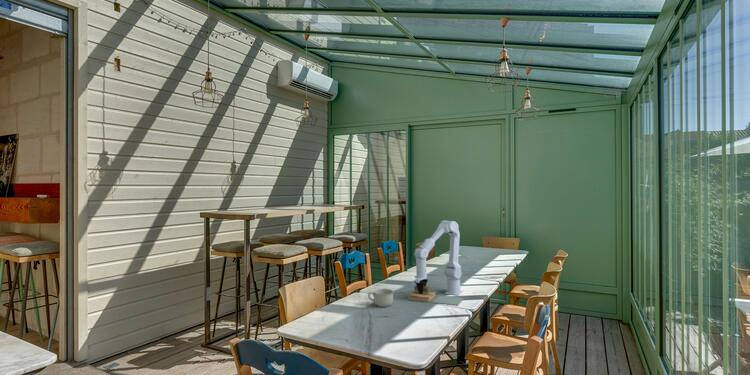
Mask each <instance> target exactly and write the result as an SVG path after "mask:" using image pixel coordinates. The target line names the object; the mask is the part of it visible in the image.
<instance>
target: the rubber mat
mask: <svg viewBox="0 0 750 375" xmlns="http://www.w3.org/2000/svg"><path fill="white" fill-rule="evenodd" d="M463 301H464V298H462V297H455V296H454V297H453V296H443V295H439V296H438V297H436V298H435V299H433V301H432V304H438V305H445V304H446V305H447V306H455V305H456V307H457V306H459V305H460V304H461V303H462V302H463Z"/></svg>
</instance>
